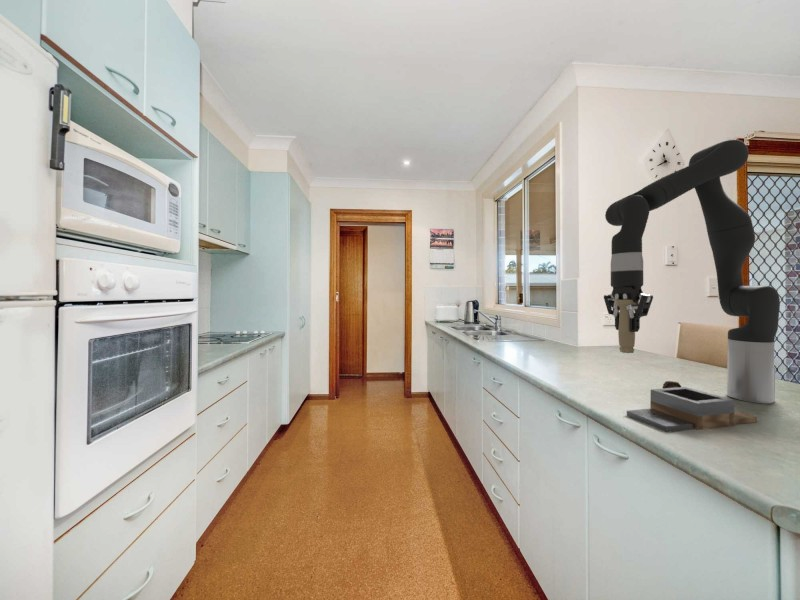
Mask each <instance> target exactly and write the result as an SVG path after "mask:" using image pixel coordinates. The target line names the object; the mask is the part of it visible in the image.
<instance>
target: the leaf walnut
mask: <svg viewBox="0 0 800 600" xmlns="http://www.w3.org/2000/svg"><path fill="white" fill-rule="evenodd" d="M649 402H650V405H649V406H650V408H653V409H656V410H658V411H661V412H664V413H667V414H670V415H672V416H675V417H678V418H681V419H684V420H686V421H689V422H692V423H695V429H694V430H697V431H698V430H706V429H714V428H715V429H716V428H724V427H725V428H726V427H730V426H731V427H732V426H733V427H734V426H735V425H739V424H747V423H748V424H749V423H750V424H751V423H757V422H758V416H755V415H753V414H749V413H746V412H742V411H739V410H736V409H734V413H727V414H718V415H708V416H699V417H697V416H694V415H691V414H688V413H685V412H682V411H679V410H676V409H673V408H670V407H667V406H664V405H661V404H658V403H655V402H652V401H651V400H650V401H649ZM650 408H649V409H650Z"/></svg>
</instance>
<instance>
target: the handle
mask: <svg viewBox="0 0 800 600" xmlns="http://www.w3.org/2000/svg"><path fill="white" fill-rule="evenodd" d="M616 305H617V306H619V308H620V310H619V329H618V330H617V331H618V333H617V335H618V344H619V351H620V352H621V353H623V354H633V353H635V348H634V347H635V344H636V343H635V341H636V332H630V315H629V311H628V310H627V309H626V306H628V305H631V306H633V307H634V306H636V305H637V304H636V303H634V302H633V300H616Z"/></svg>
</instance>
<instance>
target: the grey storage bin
mask: <svg viewBox="0 0 800 600" xmlns="http://www.w3.org/2000/svg"><path fill="white" fill-rule="evenodd" d="M651 401H652V402H655V403H658V404H661V405H664V406H667V407H670V408H673V409H676V410H679V411H682V412H685V413H688V414H691V415H694V416H697V417H699V416H708V415H718V414H727V413H734V410H735V407H736V406H735V403H736V402H735V401H736V400H735V399H733V398H732V399H731V398H729V397H724V396H720V395H718V394H717V395H716V394H713V393H708V392H705V391H702V390H698V389H693V388H691V387H690V388H689V387H687V386H686V387H685V386H681V387H676V388H654V389H653V388H652V389H651V388H650V402H651ZM626 416H627V417H630V418H632V419H635V420H637V421H640V422H641V423H644V424H647V425H648V426H651V427H653V426H654V428H657V429H659V430H661V431H664V432H666V433H668V432H670V431H671V432H677V431H689V430H696V429H695V423H692V422H689V421H686V420H684V419H681V418H678V417H675V416H672V415H670V414H667V413H664V412H661V411H658V410H656V409H653V408H643V409H642V408H640V409H630V410H626Z"/></svg>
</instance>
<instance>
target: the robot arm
mask: <svg viewBox="0 0 800 600" xmlns="http://www.w3.org/2000/svg"><path fill="white" fill-rule="evenodd" d="M748 158H749V148H748V146H747V144H746V143H745V142H743V140H739V139H734V138H732V139H728V140H724V141H721V142H718V143H716V144H715V143H714V144H713V145H711V146H708V147H707V148H704V149H702V150H699V151H697V152H695V153H694V154H693V155H691V157H690V159H689V162H688V165H687V166H685V167H682V168H681V169H679V170H676V171H673V172H672V173H670V174H667V175H665V176H663V177H661V178H659V179H656V180H655V181H653V182H651V183H649V184H648V185H646V186H644V187H643V188H641V189H639V190H638V191H636V192H634V193H631V194H629V195H627V196H625V197H622V198H621V199H619V200H617V201H615V202H613V203H611V204H610V205H609V206H608V208H606V211H605V215H604V216H605V220H606V222H607V223H608V225H609V224H610V225H612V226H614V227H620V226H621V228H620V230H619V231H618V232H616V234H614V235H613V236H612V238H611V256H610V287H612V291H611V293H610V294H604V295H603V299H604V302H605V307H606V309H607V313H608V315H612V316H613V317H614V327H615V330H616V331H618V329H619V312H620V308H619V306H617V305H616V300H633V302H634V303H636V304H637V305H636V306H634V307H633V306H631V305H628V306H626V309H627V310H628V311H629V315H630V332H635V333H637V332H639V331H640V323H641V320H640V319H641V318H642V317H647V316H648V314H649V311H650V308H651V305H652V302H653V300H654V295H652V294H646V293H644V292H643V290H642V287H643V286H644V257H643V235H644V233H645V230H646V227H647V223H648V220H649V215H650V212H651V211H655V210H657V209H659V208H661V207H663V206H665V205H667V204H668V203H671V201H673V200H676V199H678V198H679V197H682V195H684V194H686V193H687V192H690V191H691V190H695V193H696V195H697V197H698V201H699V203H700V207H701V211H702V214H703V215H702V216H703V218H704V222H705V227H706V232H707V237H708V242H709V246H710V249H711V252H712V257H713V260H714V265H715V272H716V281H717V282H716V283H717V292H718V299H719V304H720V307H721V310H722V311H723V312H724V313H725V314H727V316H731V317H741V318H743V317H744V318H747V321H746V323H745V324H744V325H742V326H739V327H736V328H735V327H734V328H731V329H728V332H727V368H726V369H727V370H726V371H727V372H726V373H727V376H726V377H727V381H726V395H727V396H728V397H730V398H732V399H734V400H735V399H736V400H740V401H745V402H749V403H757V404H773V403H774V402H775V401H776V368H775V339H776V338H775V337H776V335H777V333H778V329H779V318H780V317H779V316H780V309H781V307H780V306H781V298H780V294H779V293H778V290H777V289H776V288H774V287H773V286H769V285H744V282H743V276H742V270H743V266H744V264H745V261H746V260H747V258H748V256H749V254H750V253H751V251H752V249H753V248H754V245H755V242H756V234H755V229H754V225H753V224H754V223H753V220H752V217H751V215H750V214H749V213H748V212H747V211H746V210H745V209H744V208H743V207H742V206H741V205H739V204H738V203H736V202H735V201H734V200H732V199H731V198H730V197H729V196H728V194H727V193H726V192H725V190H724V188H723V185H722V182H721V177H724V176H727V175H730V174H733V173H735V172H736V171H739V170H740V169H741V168H742V167H743V166H745V164H746V163H747V161H748Z"/></svg>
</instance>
